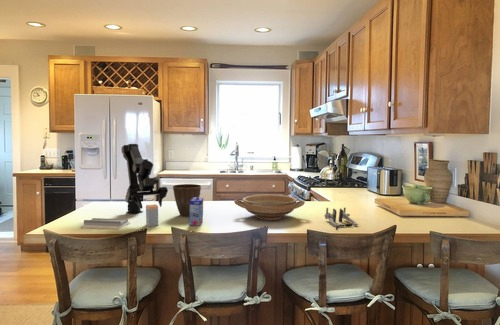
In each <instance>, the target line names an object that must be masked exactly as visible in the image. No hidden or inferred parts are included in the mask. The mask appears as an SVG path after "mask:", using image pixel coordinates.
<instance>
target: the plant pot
mask: <svg viewBox="0 0 500 325" xmlns="http://www.w3.org/2000/svg"><path fill="white" fill-rule="evenodd" d="M172 189H173V196H174V201H175V204H176V207H177V211H178V212H179V215H180V216H181V217H190V200H191V199H192V198H197V197H198V196H199V194H200V195H201V189H202V185H201V184H196V183H195V184H193V183H184V184H182V183H181V184H175V185H173V186H172ZM198 198H200V196H199V197H198Z"/></svg>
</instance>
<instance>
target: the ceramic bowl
mask: <svg viewBox="0 0 500 325" xmlns="http://www.w3.org/2000/svg"><path fill="white" fill-rule="evenodd" d="M233 202H234V204H235V205H236V206H238V207H240V208H242V209H245V210H246V211H247V212H248V213H250V214H252V215H255V216H256V217H257V219H260V220H263V221H264V220H265V221H275V220H276V221H277V220H281V219H282V218H283V216H286V215H288V214H291V213H292V212H294V210H296V209H298V208H300V207H302V206H304V205H305V200H302V199H301V200H299V201H298V200H297V198H295V197H294V196H290V195H284V194H269V193H268V194H254V195H253V194H252V195H248V196H244V197H243V198H242V200H239V199H234V200H233Z"/></svg>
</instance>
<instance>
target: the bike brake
mask: <svg viewBox="0 0 500 325" xmlns="http://www.w3.org/2000/svg"><path fill="white" fill-rule="evenodd" d="M346 209H347V208H346V207H343V208H341V207H340V208H339V212H338V214H339V215H338V221H339V223H336V219H337V209H335V208H333V209H332V213H331V212H329V207H326V210H325V213H324V218H325V220H329V222H330V223H331V225H332V226H334V227H335V230H336V231H339V229H338V228H344V227H347V228H349V227H352V226H354V227H358V226H359V225H360V224H358V223H357V222H356V221H355V220H354V219H352V218H351V217H350V215H351V214H350V213H346V211H347V210H346ZM343 220H346V221H348V222H350V223H342V222H343Z"/></svg>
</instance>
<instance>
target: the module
mask: <svg viewBox="0 0 500 325" xmlns="http://www.w3.org/2000/svg"><path fill="white" fill-rule="evenodd" d="M145 217H146V218H145V221H146V224H145V225H146V226H147V225H148V227H149V226H151V227H156V226H155V225H158V226H159V206H158V204H146V205H145Z"/></svg>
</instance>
